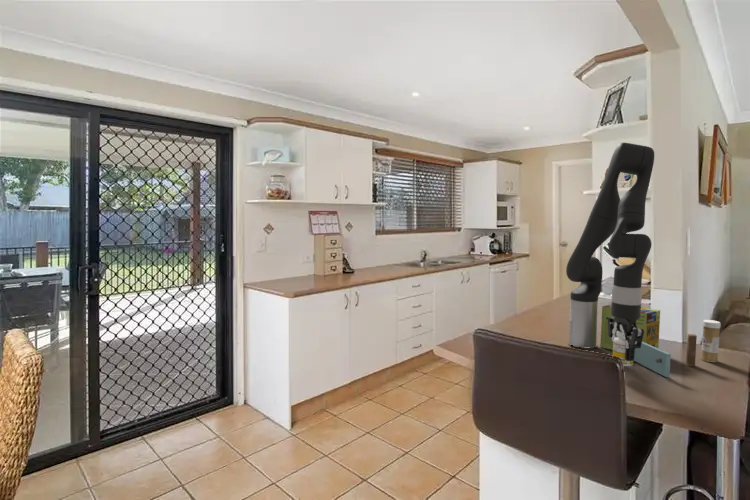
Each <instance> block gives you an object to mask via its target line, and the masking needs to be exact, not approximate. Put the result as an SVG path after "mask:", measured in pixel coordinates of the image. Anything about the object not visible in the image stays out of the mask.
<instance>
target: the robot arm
mask: <svg viewBox="0 0 750 500" xmlns="http://www.w3.org/2000/svg"><path fill="white" fill-rule="evenodd" d="M654 162H655V151H654V149H653V148H652V147H650V146H647V145H643V144H642V145H641V144H635V143H631V142H630V143H629V142H620V143H618V144H617V146H616V148H614V151H613V153H612V155H611V159H610V161H609V165H608V168H607V170H606V173H605V177H604V180H603V183H602V186H601V189H600V191H599V193H598V194H597V198H596V200H595V203H594V204H593V207H592V209H591V211H590V214H589V216H588V219H587V222H586V225H585V227H584V230H583V232H582V234H581V236H580V238H579V240H578V243H577V245H576V246H575V248H574V250H573V252H572V254H570V255H571V256H570V257H569V259H568V262H567V264H566V271H565V272H566V276H567V279H568V280H569V281H570V282H575V283H579V285H578V287H576V288H575V289H573V290H572V291H571V292H570V300H569V301H570V305H569V306H570V307H569V319H568V320H569V321H568V322H569V325H568V327H569V328H568V346H571V345H573V346H572V347H575V348H579V347H581V348H580V349H585V348H584V347H590V348H589V349H595V348H597V343H598V342H597V338H598V313H599V312H598V311H599V310H598V309H599V297H600V294H601V293H602V282H603V266H602V262H601V261H600V259H599V258H598V257H595V256H593V255H594V253H595V252H596V251H597V250H598V248H600V247H601V245H602V244H604V242H606V241H607V240H608V239H609V238H610V240H609V243H608V247H607V248H608V252H609V253H610V255H611V256H613V257H616V258H627V259H628V258H629V259H635V261H634V262H632V263H629V264H623V265H618V266H616V267H615V268H614V272H613V273H614V274H613V287H612V291H611V292H612V293H611V304H610V305H611V315H612V316H613V317H614V318H608V335H609V337H611V338H612V341H613V340H614V338H615V337H617V335H616V334H617V330H618V331H620V332H622V337H623V340H624V341H625V344H626V351H625V360H627V361H633V362H634V354H635V349H636V348H641V344H642V339H643V335H644V330H643V329H639V328H637V324H636V320H637V319H639V318H640V316H641V307H642V298H643V296H642V295H643V294H642V282H643V280H642V279H643V271H644V268H645V263H646V261H647V259H648V256H649V254H650V252H651V250H652V240H651V238H650V237H649V235H647V234H643V233H632V232H637V231H640V230H642V228H644V226H645V217H646V200H647V195H648V191H649V187H650V184H651V183H650V182H651V177H652V173H653V168H654V164H655V163H654ZM621 173H622V174H628V175H634V176H636V180H635V183H634V184H633V185H632V186H631V187H630V188H629V190H627V191H626V192H625V193H624V194H623V195H622V196H621V197H620V193H619V189H618V181H619V177H620V174H621ZM612 329H613V332H612ZM631 335H632V337H627V336H631ZM629 340H631V342H630V344H629ZM636 341H637V344H636ZM594 347H595V348H594Z"/></svg>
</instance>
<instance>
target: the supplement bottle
mask: <svg viewBox="0 0 750 500" xmlns="http://www.w3.org/2000/svg"><path fill="white" fill-rule="evenodd" d="M616 335H617V337H615V338H614V340H613V350H612V357H613V356H616V357H619V358H620V359H621V360H622V362H623V365H624V366H623V367H631V366H633V365H634V360H633V361H627V360H625V351H626V344H625V341H624V340H623V337H622V332H620V331H618V330H617V334H616ZM627 337H632V335H631V336H627ZM630 342H631V340H629V344H630Z"/></svg>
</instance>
